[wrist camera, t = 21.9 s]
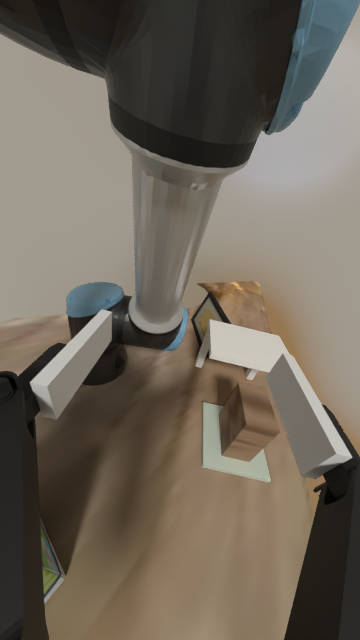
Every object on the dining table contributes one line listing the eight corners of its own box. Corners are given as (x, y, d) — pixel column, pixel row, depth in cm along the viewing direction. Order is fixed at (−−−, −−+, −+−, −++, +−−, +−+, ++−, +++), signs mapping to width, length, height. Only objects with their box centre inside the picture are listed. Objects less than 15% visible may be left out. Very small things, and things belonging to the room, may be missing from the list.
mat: (269, 482, 37) (271, 481, 37) (201, 467, 37) (203, 465, 36) (253, 415, 49) (254, 413, 48) (202, 403, 49) (203, 401, 48)
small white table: (264, 417, 49) (301, 374, 40) (191, 400, 49) (211, 353, 39) (252, 375, 61) (278, 334, 52) (194, 361, 61) (209, 318, 51)
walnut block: (249, 462, 39) (280, 432, 32) (221, 455, 39) (246, 424, 32) (241, 420, 46) (265, 388, 39) (218, 414, 46) (238, 381, 39)
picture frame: (190, 319, 82) (203, 290, 74) (208, 323, 84) (223, 295, 77) (203, 358, 63) (221, 323, 55) (225, 361, 66) (246, 328, 58)
